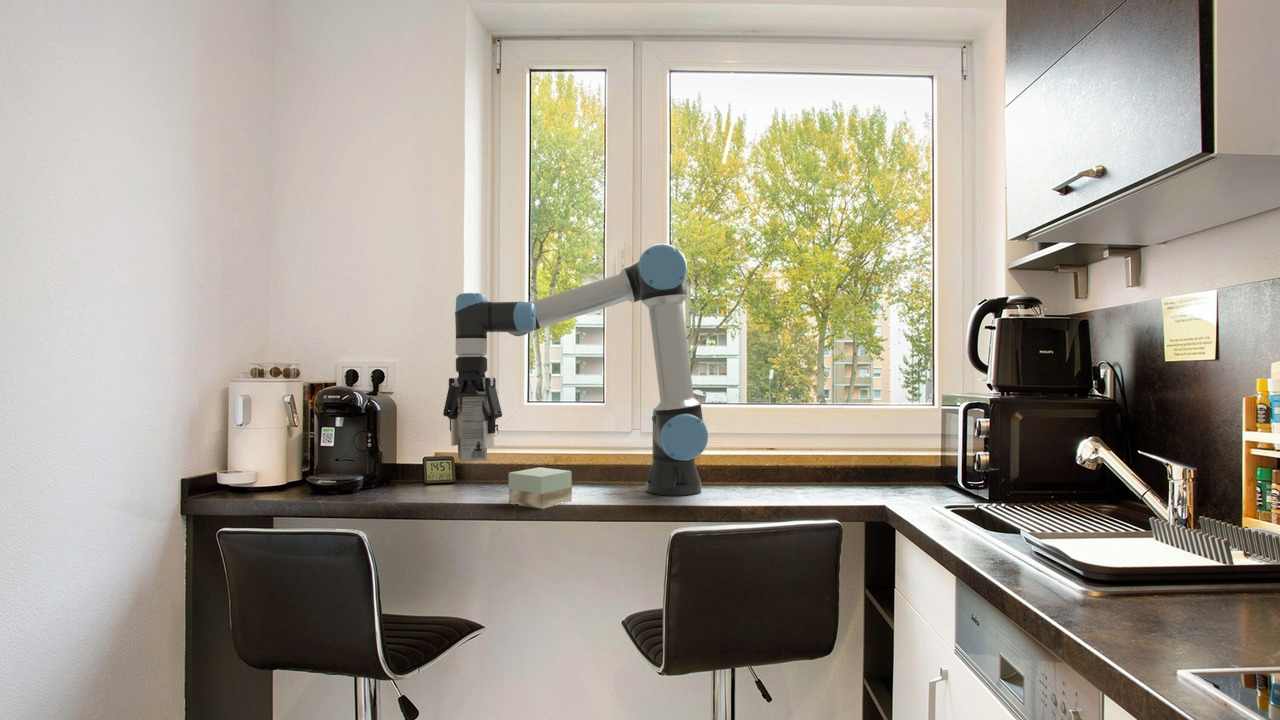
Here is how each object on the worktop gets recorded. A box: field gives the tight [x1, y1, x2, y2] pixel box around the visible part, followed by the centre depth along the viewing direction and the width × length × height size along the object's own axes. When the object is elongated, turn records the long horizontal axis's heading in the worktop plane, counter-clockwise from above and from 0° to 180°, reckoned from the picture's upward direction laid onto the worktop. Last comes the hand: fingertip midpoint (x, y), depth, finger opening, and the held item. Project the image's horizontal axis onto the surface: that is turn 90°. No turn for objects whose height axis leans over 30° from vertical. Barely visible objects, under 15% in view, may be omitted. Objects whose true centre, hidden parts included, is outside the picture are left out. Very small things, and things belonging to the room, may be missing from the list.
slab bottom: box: [508, 486, 573, 510], centre depth 158 cm, size 11×11×4 cm
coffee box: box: [457, 394, 488, 463], centre depth 156 cm, size 9×6×16 cm
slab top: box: [508, 467, 573, 494], centre depth 158 cm, size 11×11×4 cm
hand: (472, 446), depth 156 cm, fingers closed on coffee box, 10 cm apart
